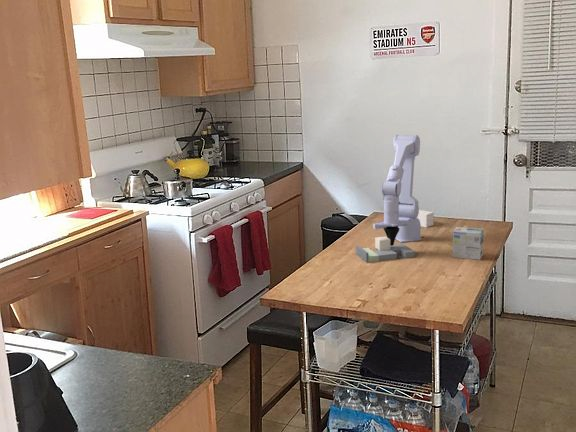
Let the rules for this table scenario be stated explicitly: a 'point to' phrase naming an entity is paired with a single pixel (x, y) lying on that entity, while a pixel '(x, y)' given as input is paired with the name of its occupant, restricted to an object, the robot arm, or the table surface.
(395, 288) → the table surface
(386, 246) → the block
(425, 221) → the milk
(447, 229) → the table surface
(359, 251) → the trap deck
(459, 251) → the light bulb box
